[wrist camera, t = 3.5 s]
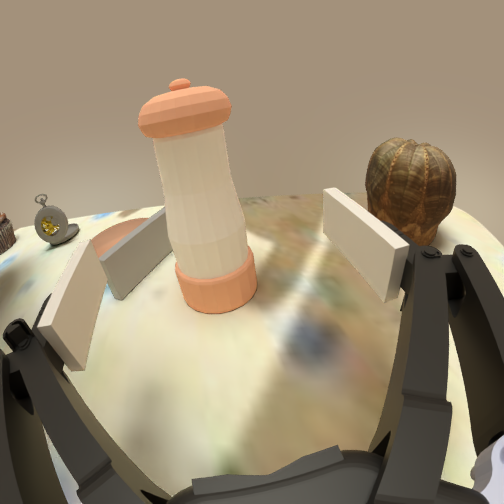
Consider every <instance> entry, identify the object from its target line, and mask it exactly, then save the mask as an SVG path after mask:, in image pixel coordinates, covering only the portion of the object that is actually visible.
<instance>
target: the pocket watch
mask: <svg viewBox="0 0 504 504" xmlns="http://www.w3.org/2000/svg"><path fill="white" fill-rule="evenodd" d="M40 195H44V196H46V199H45V200H43V198H41V201H40V202H37V201H36V199H37V197H38V196H40ZM40 195H38V196H36V198H35V202H36V203H40V204H41V205H43V208H42V209H40V210H39V212H38V213H37V215H36V217H35V229H36V232H37V234H38V235H39V237H40V238H41V239H43V240H44V241H46V242H49V243H50V244H52V245H55V244H59V243H62V242H64V241H66V240H68V239H70V238H71V237H73V236H74V235H75V234H76V233H77V231H78V230H79V227H78V224H69V225H68V220H67V218H66V216H65V214H64V212H62V210H61V209H59V208H58V207H55V206H46V205H45V202H46V200H47V195H45V194H40ZM45 221H46V222H45ZM43 224H44V225H46V226H45V228H44V227H43ZM47 224H48V226H47ZM58 224H59V225H58ZM57 227H59V228H57ZM54 228H56V229H57V231H55V232H54V230H56V229H54ZM48 229H49V230H48ZM46 230H48V231H46ZM50 231H51V232H50ZM52 232H54V233H53V234H52Z"/></svg>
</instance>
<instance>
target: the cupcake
mask: <svg viewBox="0 0 504 504" xmlns="http://www.w3.org/2000/svg"><path fill="white" fill-rule="evenodd" d="M15 242H16V239H15V235H14V231H13V227H12V223H11V220H9V219H7V218H6V215H5V214H4V213H3V212H0V255H1V254H3V253H4V252H5V251H7V250H8V249H9V248H10V247H12V246H13V244H14V243H15Z"/></svg>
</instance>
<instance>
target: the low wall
mask: <svg viewBox="0 0 504 504" xmlns="http://www.w3.org/2000/svg"><path fill="white" fill-rule="evenodd" d="M172 250H173V249H172V246H171V243H170V240H169V237H168V231H167V222H166V212H165V207H164V208H162V209H161V210H159V211H158V212H157V213H155V214H154V215H153V216H151V217H150V218H149V219H147V220H146V221H145V222H143V223H142V224H141V225H139V226H138V227H137V228H136V229H134V230H133V231H132V232H130V233H129V234H128V235H127V236H125V237H124V238H123V239H121V240H120V241H119V242H118V243H116V244H115V245H114V246H113V247H111V248H110V249H109V250H108V251H107V252H105V253H104V254H103V255H102V256H101V257H99V258H98V259H99V261H100V263H101V265H102V268H103V270H104V272H105V274H106V277H107V279H108V281H107V283H108V285H109V287H110V289H111V292H112V294H113V296H114V298H116V299H119V300H123V299H124V298H125V297H126V296H127V295H128V293H129V292H130V291H131V290H132V289H133V288H134V287H135V286H136V285H137V284H138V283H139V282H140V281H141V280H142V279H143V278H144V277H145V276H146V275H147V274H148V273H149V272H150V271H151V270H153V269H154V268H155V267H156V266H157V265H158V264H159V263H160V262H161V261H162V260H163V259H164V258H165V257H166V256H167V255H168V254H169V253H170V252H171V251H172Z"/></svg>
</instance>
